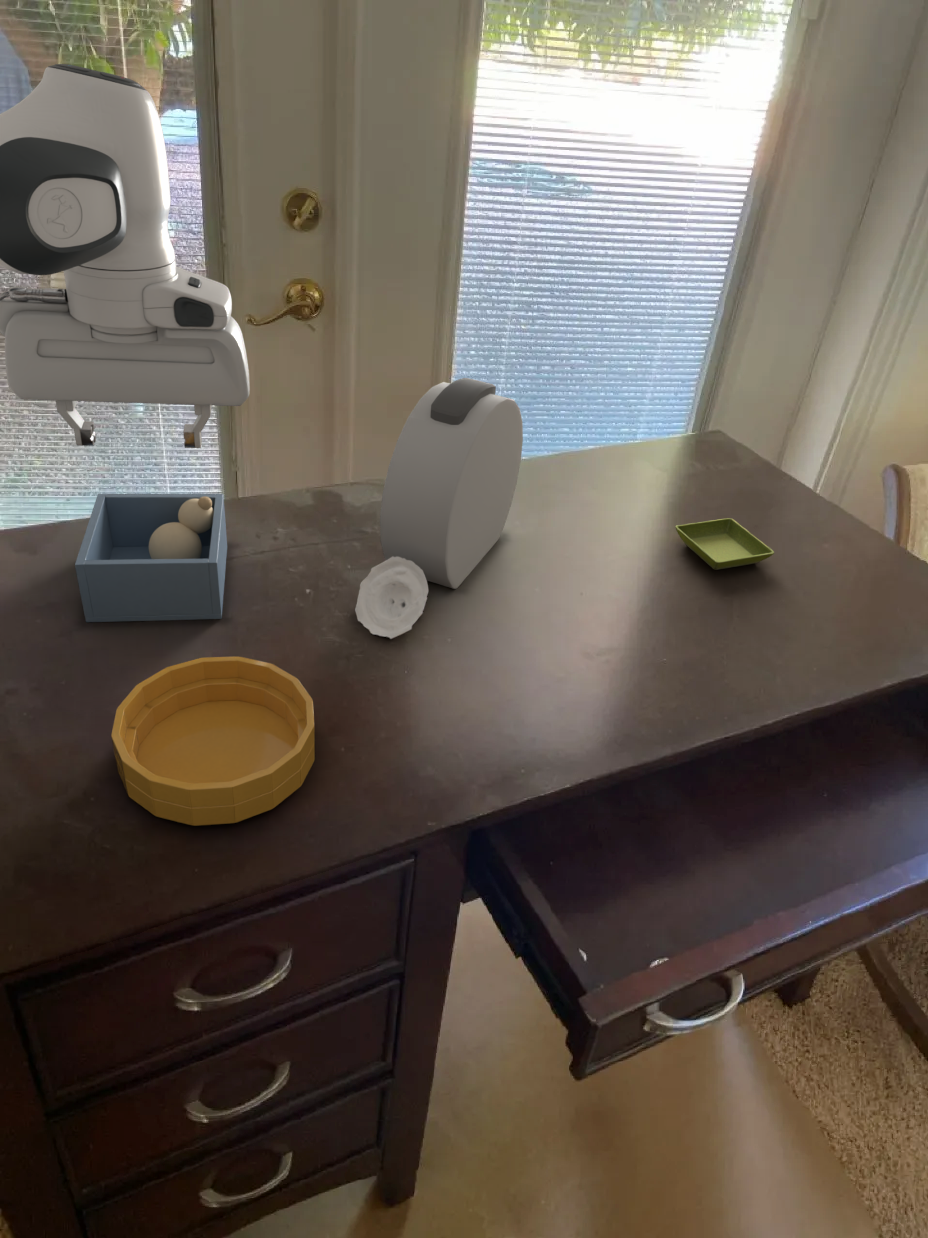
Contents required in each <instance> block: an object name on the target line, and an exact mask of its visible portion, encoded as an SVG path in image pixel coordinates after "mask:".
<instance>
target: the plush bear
mask: <svg viewBox="0 0 928 1238" xmlns="http://www.w3.org/2000/svg"><path fill="white" fill-rule="evenodd" d="M211 506H212V501H211V499H210V498H209V497H206V496H203V497H201V498H200V499H190V500H188V501H186V502H185V503H183V504H182V506H181V507H180V509H179V513H178V518H179V522H180V523H178V522H171V523H166V524H164V525H162V526H160V527H159V528H157V529H156V530H155V531H154V533H153V534H152V536H151V538H150V541H149V553H150V556H151V558H152V559H199V558H200V556H201V552H202V545H201V541H200V538H199V536H198V534H199V533H203V532H206V531H207V530H209V529H210V528H211V526H212V524H213V514H214V511H213V508H212V507H211Z"/></svg>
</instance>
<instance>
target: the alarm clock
mask: <svg viewBox="0 0 928 1238" xmlns="http://www.w3.org/2000/svg"><path fill="white" fill-rule="evenodd" d="M496 389H497V387H496V386H495V385H494V384H493V383H490V382H485V381H483V380H479V379H478V380H477V379H473V378H469V377H462V378H458V379H456V380H453V382H446V381H442V382H440V383H438V384H435V385H433V386H431V387H430V388H429V389H428V390H427V391H426V392H425V393H424V394H423V395H422V396H421V397H420V398H419V399H418V401H417V403H416V405H414V408H413V409H412V410H411V412H410V414H409V415H408V417H407V419H406V421H405V423H404V425H403V427H402V430H401V432H400V434H399V436H398V438H397V440H396V443H395V446H394V449H393V451H392V455H391V458H390V461H389V465H388V467H387V472H386V477H385V481H384V487H383V491H382V495H381V505H380V507H381V508H380V515H379V533H380V536H379V537H380V538H379V539H380V544H381V549H382V554H383V558H384V559H385V561H386V560H388V559H389V558H391V557H392V556H393V557H401V558H402V559H403V558H405V559H406V560H411V561H413V562H414V563H415V564H416V565H417V566H418V567H420V569H422V570H423V572H424V575H425V577H426V580H427V582H430V583H434V584H437V585H440V586H443V587H446V588H449V589H453V590H457V589H458V588H459V587H460V585H461V584H462V583H463V582H464V581H465V580H466V578H467V577H468V576H469V575H470V574H471V572H472V571H473V570H474V569H475V568H476V567H477V565H478V564H479V563H480V562H481V561H482V560H483V558H484V557H485V556H486V555H487V554H488V553H489V551H490V550H491V549H492V548H493V547H494V546H495V544H496V543H497V542H498V540H500V538H501V535H502V532H503V530H504V528H505V525H506V522H507V519H508V516H509V513H510V510H511V507H512V503H513V500H514V497H515V492H516V488H517V484H518V479H519V473H520V470H521V469H520V468H521V463H522V453H523V444H524V423H523V418H522V412H521V408H520V407H519V405H518V404H517V402H516V401H515V400H514V398H511V397H505V396H502V395H498V394H496Z"/></svg>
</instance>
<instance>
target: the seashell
mask: <svg viewBox="0 0 928 1238" xmlns="http://www.w3.org/2000/svg"><path fill="white" fill-rule="evenodd" d="M428 594H429V585H428V581H427V580H426V577H425V575H424V572H423V570H422V569H420V567H418V566H417V565H416V564H415V563H414V562H413V561H411V560H406V559H405V558H403V559H402V558H401V557H393V556H392V557H391V558H389V559H388V560H386V559H385V560H384V561H382V562H381V563H379V564H376V565H375V566H373V567H371V568H370V572H369V573H368V574H367V576H365V577H364V579H363V580H362V581H360V584H359V590H358V595H357V598H356V599H357V600H356V604H355V608H354V612H355V615H356V619H357V622H359V623H361V624H362V627H364V628H366V629H367V630H368V631H369V633H370V634H372V635H376V636H379V637H383V638H384V637H386V638H389V639H390V640H392V639H394V638H396V637H398V636H401V635H403V634H405V633H407V632H409V631H411V630H413V625H414V624H415V623H416V622H417V621H418V619H419V618H420V617H421V616H422V615H423V614H424V612H423V611H425V606H426V602H427V600H428V597H427V596H428Z"/></svg>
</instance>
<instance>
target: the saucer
mask: <svg viewBox="0 0 928 1238" xmlns="http://www.w3.org/2000/svg"><path fill="white" fill-rule="evenodd" d="M674 528H675V530H676V532H677V535H678V537H679V538H680V540H681V541H682V542H683V543H684V545H686V546H687V548H689V549H690V550H691V551H693V552H694V553H695V554H696V555H697V556H698V557H699V558H700V559H701V560H703V562H705V563H706V564H707V565H708V566H709V567H710V568H712V569H713V570H715V571H717V570H718V571H719V570H723V569H730V568H737V567H741V566H746V565H753V564H757V563H760V562H762V561H765V560H766V559H768V558H770V557H772V556H773V555H774V554H775V551H774V550H773V549H772V548H771V547H770V546H768V545H767V544H765V542H763V541H762V540H761V539H759V538H757V537H756V536H755V535H754V534H753V533H752V532H750V531H749V530H748V529H746V528H745V527H744V526H743V525H741V524H740V523H739V522H738V521H736V520H735V519H733V518H731V517H726V518H725V517H724V518H719V519H713V520H712V519H711V520H705V521H699V522H692V523H684V524H678V525H675V526H674Z"/></svg>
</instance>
